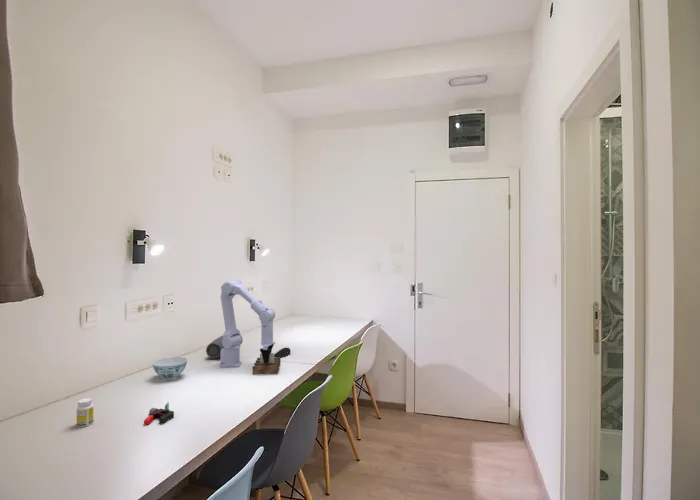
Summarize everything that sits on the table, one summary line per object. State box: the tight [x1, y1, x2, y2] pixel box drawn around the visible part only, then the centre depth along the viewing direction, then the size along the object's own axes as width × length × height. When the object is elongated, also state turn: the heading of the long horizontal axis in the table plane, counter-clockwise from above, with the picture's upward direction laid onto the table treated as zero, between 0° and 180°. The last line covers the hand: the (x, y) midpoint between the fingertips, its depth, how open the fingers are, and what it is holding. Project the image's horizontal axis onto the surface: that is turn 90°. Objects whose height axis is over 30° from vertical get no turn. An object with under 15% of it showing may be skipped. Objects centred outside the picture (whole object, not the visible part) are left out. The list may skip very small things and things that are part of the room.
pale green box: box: [259, 352, 275, 363], centre depth 195 cm, size 7×2×7 cm, turn 95°
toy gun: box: [143, 402, 175, 426], centre depth 138 cm, size 10×12×5 cm
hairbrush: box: [274, 346, 292, 359], centre depth 216 cm, size 8×4×25 cm
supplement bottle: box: [76, 397, 94, 428], centre depth 134 cm, size 5×5×8 cm
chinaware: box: [151, 356, 188, 381], centre depth 182 cm, size 15×15×8 cm
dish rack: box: [252, 357, 281, 375], centre depth 195 cm, size 12×15×4 cm
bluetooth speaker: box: [205, 335, 224, 359], centre depth 223 cm, size 23×9×10 cm, turn 179°
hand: (267, 360), depth 195 cm, fingers open, 7 cm apart
